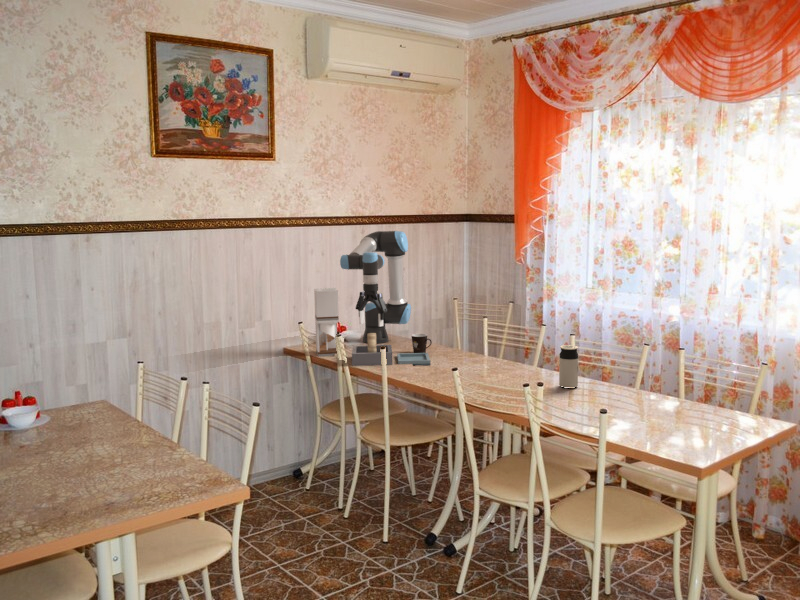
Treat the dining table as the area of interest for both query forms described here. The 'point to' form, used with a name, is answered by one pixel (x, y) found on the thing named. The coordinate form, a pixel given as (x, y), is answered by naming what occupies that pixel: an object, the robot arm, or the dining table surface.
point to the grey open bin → (370, 355)
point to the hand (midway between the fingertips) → (371, 324)
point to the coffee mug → (420, 343)
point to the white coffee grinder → (326, 320)
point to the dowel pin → (371, 342)
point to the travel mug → (568, 366)
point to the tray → (413, 358)
